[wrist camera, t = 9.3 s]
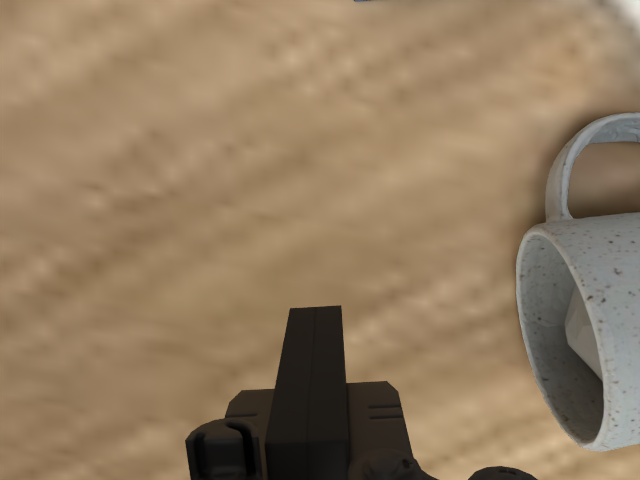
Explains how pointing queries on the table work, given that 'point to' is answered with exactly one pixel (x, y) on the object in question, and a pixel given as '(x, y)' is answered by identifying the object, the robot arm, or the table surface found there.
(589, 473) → the table surface
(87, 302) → the table surface
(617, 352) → the ceramic mug
